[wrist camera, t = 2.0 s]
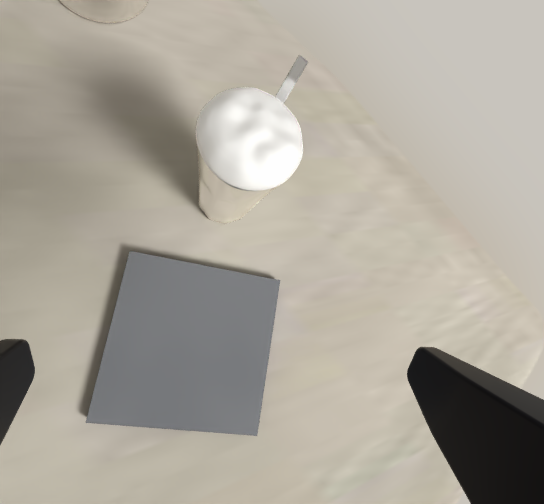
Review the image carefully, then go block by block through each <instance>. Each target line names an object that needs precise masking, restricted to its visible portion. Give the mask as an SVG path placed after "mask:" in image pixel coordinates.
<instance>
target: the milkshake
mask: <svg viewBox="0 0 544 504" xmlns="http://www.w3.org/2000/svg"><path fill="white" fill-rule="evenodd" d="M307 64H308V61H307V60H306V59H304V58H303V57H302V56H300V55H299V56H298V57H297V59H296V61H295V62H294V64H293V66H292V68H291V70H290V71H289V73H288V75H287V77H286V78H285V80H284V82H283V84H282V85H281V87H280V89H279V91H278V92H277V94H276V96H275V97H274V96H273V95H271V94H269V93H267V92H265V91H263V90H260V89H257V88H253V87H238V88H232V89H228V90H225V91H222V92H220V93H218V94H217V95H216V96H214V97H213V98H212V99H211V100H210V101H209V102H208V103H207V104H206V105H205V106H204V107H203V109H202V110H201V112H200V114H199V116H198V119H197V124H196V141H197V157H198V168H199V207H200V208H201V209H202V211H203V212H204V213H205V215H206V216H207V217H208V218H209V219H210V220H213V221H216V222H219V223H222V224H227V223H231V222H234V221H237V220H240V219H241V218H242V217H243V216H244V215H246V214H247V213H248V212H249V211H250V210H251V209H252V208H253V207H254V206H256V205H257V204H258V203H259V202H260V201H261V200H262V199H263V198H264V197H266V196H267V195H268V194H269V193H271V192H272V191H273V190H274V189H276V188H277V187H278V186H279V185H281V184H282V183H284V182H285V181H286V180H287V179H289V178H290V176H291V175H292V174H293V173H294V171H295V170H296V168H297V167H298V165H299V163H300V161H301V159H302V155H303V143H302V134H301V129H300V125H299V123H298V121H297V119H296V117H295V116H294V115H293V113H292V112H291V111H290V110H289V109H288V108H287V107H286V106H285V105H284V102H285V101H286V99H287V97H288V96H289V94H290V92H291V91H292V89H293V87H294V86H295V84H296V82H297V81H298V79H299V77H300V76H301V74H302V72H303V71H304V69H305V67H306V66H307Z"/></svg>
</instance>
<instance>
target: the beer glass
mask: <svg viewBox="0 0 544 504" xmlns="http://www.w3.org/2000/svg"><path fill="white" fill-rule="evenodd" d="M59 1H60V2H61V3H62V4H63V5H64V6H66V7H67V8H68V9H69V10H71V11H72V12H74V13H76V14H77V15H79V16H81V17H84V18H86V19H89V20H92V21H96V22H102V23H118V22H123V21H127V20H129V19H132V18H134V17H135V16H137V15H138V14H140V13H141V12H142V11H143V10H144V8H145V7H146V5H147V3H148V0H59Z"/></svg>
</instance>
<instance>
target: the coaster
mask: <svg viewBox="0 0 544 504" xmlns="http://www.w3.org/2000/svg"><path fill="white" fill-rule="evenodd" d="M279 284H280V280H276V279H271V278H266V277H260V276H255V275H250V274H245V273H240V272H235V271H230V270H225V269H220V268H215V267H210V266H205V265H199V264H194V263H189V262H184V261H179V260H174V259H169V258H164V257H159V256H154V255H149V254H143V253H138V252H133V251H130V252H129V255H128V259H127V263H126V267H125V271H124V275H123V279H122V283H121V287H120V291H119V294H118V298H117V302H116V306H115V310H114V314H113V318H112V322H111V326H110V330H109V334H108V337H107V341H106V345H105V349H104V353H103V357H102V361H101V365H100V369H99V373H98V377H97V380H96V384H95V388H94V392H93V396H92V400H91V404H90V408H89V412H88V416H87V420H86V423H97V424H110V425H123V426H136V427H149V428H162V429H175V430H188V431H201V432H214V433H227V434H240V435H253V436H257V433H258V426H259V419H260V413H261V406H262V399H263V392H264V386H265V379H266V372H267V365H268V359H269V352H270V345H271V338H272V332H273V325H274V318H275V311H276V305H277V298H278V291H279Z"/></svg>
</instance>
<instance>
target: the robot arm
mask: <svg viewBox="0 0 544 504" xmlns="http://www.w3.org/2000/svg"><path fill="white" fill-rule="evenodd" d="M34 373H35V367H34V363H33V359H32V355H31V351H30V347H29V344H28V342H27V341H26V340H23V339H5V340H1V341H0V445H1V443H2V441H3V439H4V437H5V435H6V433H7V431H8V429H9V427H10V425H11V423H12V421H13V419H14V417H15V415H16V413H17V411H18V409H19V407H20V405H21V403H22V401H23V399H24V397H25V395H26V393H27V391H28V389H29V387H30V385H31V383H32V381H33V378H34ZM407 377H408V381H409V384H410V386H411V388H412V390H413V393H414V395H415V397H416V399H417V402H418V404H419V406H420V409H421V411H422V413H423V415H424V418H425V420H426V422H427V424H428V426H429V429H430V431H431V433H432V435H433V437H434V438H435V440H436V442H437V444H438V446H439V448H440V449H441V451H442V453H443V455H444V457H445V458H446V460H447V462H448V464H449V465H450V467H451V469H452V471H453V473H454V474H455V476H456V478H457V480H458V482H459V483H460V485H461V487H462V489H463V490H464V492H465V494H466V496H467V497H468V499H469V501H470V503H471V504H544V400H543V399H541V398H539V397H536V396H534V395H532V394H530V393H528V392H526V391H524V390H522V389H520V388H518V387H516V386H514V385H512V384H510V383H507V382H505V381H503V380H501V379H499V378H497V377H495V376H493V375H491V374H489V373H487V372H485V371H483V370H480V369H478V368H476V367H474V366H472V365H470V364H468V363H466V362H464V361H462V360H460V359H458V358H456V357H454V356H451V355H449V354H447V353H445V352H443V351H441V350H439V349H437V348H434V347H420V348H418V349H417V350H416V352H415V354H414V356H413V359H412V361H411V363H410V365H409V368H408V371H407Z"/></svg>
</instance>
